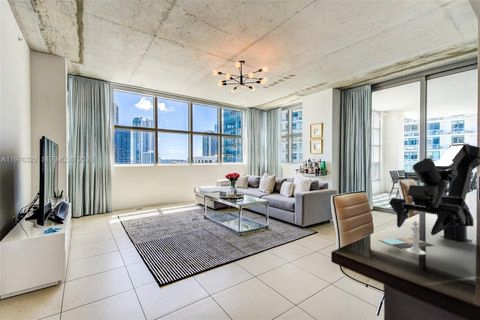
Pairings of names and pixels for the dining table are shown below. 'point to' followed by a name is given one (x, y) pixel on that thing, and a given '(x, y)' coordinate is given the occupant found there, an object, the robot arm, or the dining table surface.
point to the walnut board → (408, 241)
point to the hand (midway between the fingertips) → (414, 230)
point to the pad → (393, 241)
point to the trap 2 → (423, 244)
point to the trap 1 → (403, 245)
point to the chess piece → (415, 241)
